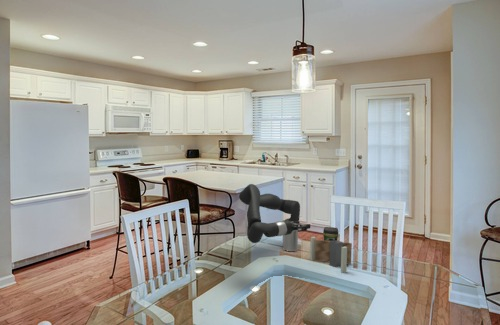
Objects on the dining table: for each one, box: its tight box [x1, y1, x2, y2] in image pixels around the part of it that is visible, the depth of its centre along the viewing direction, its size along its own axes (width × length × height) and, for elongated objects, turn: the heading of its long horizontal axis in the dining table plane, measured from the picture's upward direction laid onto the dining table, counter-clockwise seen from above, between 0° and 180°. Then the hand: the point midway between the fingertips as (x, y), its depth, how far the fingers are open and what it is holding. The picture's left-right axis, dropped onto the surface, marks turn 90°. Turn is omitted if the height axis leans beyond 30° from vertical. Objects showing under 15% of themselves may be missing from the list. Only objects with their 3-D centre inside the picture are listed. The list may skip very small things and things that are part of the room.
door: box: [314, 239, 352, 265], centre depth 198 cm, size 21×1×12 cm, turn 74°
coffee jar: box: [322, 226, 339, 241], centre depth 210 cm, size 10×8×19 cm
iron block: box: [328, 239, 344, 268], centre depth 193 cm, size 5×5×14 cm
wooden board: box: [309, 236, 348, 274], centre depth 192 cm, size 25×3×14 cm, turn 34°
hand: (304, 224), depth 183 cm, fingers open, 8 cm apart
